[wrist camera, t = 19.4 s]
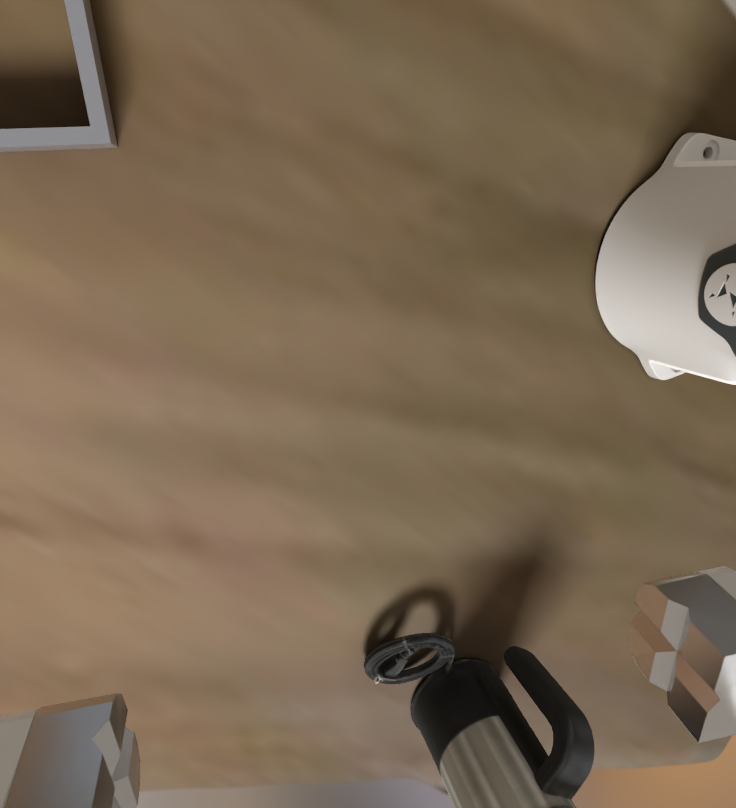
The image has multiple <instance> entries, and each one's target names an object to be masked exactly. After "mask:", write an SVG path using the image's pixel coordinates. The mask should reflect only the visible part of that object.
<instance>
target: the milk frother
mask: <svg viewBox="0 0 736 808" xmlns="http://www.w3.org/2000/svg"><path fill="white" fill-rule="evenodd" d="M418 648H432V649H433V648H434V649H436V650H438V653H437V654H436V655H435V656H434V657H433V658H432V659H431V660H429V661H428V662H426V663H424V664H422V665H419V666H417V667H414V668H411V669H407V670H403V671H401V670H402V669H403V668H404V666H405V664H406V663H407V662H408V658H409V657H410V656H411V655H412V654H414V653H415V651H414V650H415V649H418ZM454 656H455V646H454V643H453V641H452V640H451V639H450V638H448V637H447V636H445V635H441V634H436V633H422V634H413V635H408V636H404V637H400V638H397V639H394V640H391V641H388V642H386V643H384V644H382V645H380V646H378V647H377V648H375V649H374V650H372V651H371V652H370V653H369V654H368V656H367V657H366V659H365V662H364V668H365V672H366V674H367V675H368V676H369V678H371V679H372V680H373V681H374V683H375V684H378V683H385V684H401V683H406V682H409V681H413V680H416V679H418V678H421V677H424V676H426V675H428V674H430V673H432V672H433V673H432V674H431V675H430V676H428V677H427V678H426V680H425V681H424V682H423V683H422V684H421V685H420V687H419V688H418V689H417V691H416V693H415V695H414V697H413V700H412V705H411V716H412V720H413V722H414V723H415V725H416V727H417V728H418V729H419V730H420V731H421V733H422V735H423V737H424V739H425V741H426V744H427V746H428V748H429V750H430V752H431V754H432V757H433V759H434V761H435V763H436V766H437V768H438V770H439V773H440V775H441V777H442V779H443V782H444V784H445V787H446V789H447V792H448V794H449V796H450V799H451V801H452V803H453V805H454V808H576V807H575V805H574V803H573V802H572V800H571V799H572V797H573V796H574V795H575V793H576V792H577V791H578V789H579V788H580V787H581V785H582V784H583V783H584V781H585V780H586V778H587V776H588V775H589V773H590V770H591V768H592V764H593V760H594V740H593V735H592V730H591V728H590V725H589V723H588V721H587V719H586V717H585V715H584V714H583V713H582V711H581V710H580V709H579V708H578V706H577V705H576V704H575V703H574V702H573V700H572V699H571V698H570V697H569V696H568V695H567V693H566V692H565V691H564V690H563V689H562V687H561V686H560V685H559V684H558V683H557V681H556V680H555V679H554V678H553V677H552V676H551V675H550V673H549V672H548V671H547V670H546V669H545V668H544V666H543V665H542V664H541V663H540V662H539V661H538V660H537V658H536V657H535V656H534V655H533V654H532V653H531V652H529V651H527V650H525V649H522V648H520V647H516V646H512V647H509V648H508V649H507V650H506V651H505V654H504V659H505V662H506V664H507V665H508V667H509V668H510V670H511V671H512V672H513V674H514V675H515V676H516V678H517V679H518V681H519V682H520V683H521V685H522V686H523V687H524V689H525V690H526V691H527V693H528V694H529V695H530V697H531V698H532V700H533V701H534V702H535V704H536V705H537V706H538V708H539V709H540V710H541V712H542V713H543V714H544V715H545V717H546V718H547V720H548V721H549V723H550V725H551V726H552V730H553V737H554V738H553V748H552V751H551V753H550V755H549V756H548V755H547V753H546V751H545V750H544V748H543V747H542V745H541V743H540V742H539V740H538V738H537V737H536V735H535V734H534V732H533V730H532V729H531V727H530V726H529V724H528V722H527V720H526V719H525V718H524V716H523V714H522V713H521V711H520V709H519V708H518V706H517V704H516V703H515V701H514V699H513V698H512V696H511V694H510V693H509V691H508V689H507V688H506V686H505V685H504V683H503V682H502V680H501V679H500V677H499V675H498V673H497V671H496V670H495V669H494V668H493V667H492V666H491V665H490V664H488V663H486V662H484V661H482V660H478V659H462V660H458V661H454V662H453V660H454ZM447 662H448V663H447ZM445 663H447V664H446V665H444V664H445ZM443 665H444V666H443ZM440 667H441V668H440Z"/></svg>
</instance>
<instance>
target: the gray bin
mask: <svg viewBox="0 0 736 808" xmlns="http://www.w3.org/2000/svg"><path fill="white" fill-rule="evenodd" d="M64 1H65V6H66V11H67V16H68V21H69V25H70V30H71V35H72V40H73V45H74V50H75V55H76V60H77V64H78V69H79V74H80V79H81V84H82V89H83V94H84V98H85V103H86V108H87V113H88V118H89V123H90V126H84V127H51V128H18V129H0V152H20V151H45V150H71V149H96V148H118V146H117V141H116V135H115V130H114V125H113V120H112V115H111V109H110V104H109V99H108V94H107V89H106V83H105V78H104V73H103V68H102V63H101V57H100V52H99V47H98V42H97V37H96V31H95V26H94V21H93V16H92V11H91V5H90V0H64Z"/></svg>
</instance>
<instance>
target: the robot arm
mask: <svg viewBox="0 0 736 808" xmlns="http://www.w3.org/2000/svg"><path fill="white" fill-rule="evenodd" d="M704 150H705V154H704V157H703V152H704ZM595 281H596V298H597V303H598V308H599V311H600V314H601V317H602V319H603V321H604V323H605V325H606V327H607V329H608V330H609V331H610V333H611V334H612V335H613V336H614V337H615V338H616V339H617V340H618V341H619V342H620V343H621V344H623V345H624V346H626V347H627V348H629V349H630V350H632V351H633V352H634V353H636V354H637V356H638V357H639V359H640V361H641V363H642V365H643V367H644V369H645V371H646V372H647V374H648V375H649V376H650V377H652V378H656V379H660V380H667V379H670V378H673V377H675V376H678V375H680V374H683V373H686V372H688V373H692V374H695V375H699V376H702V377H706V378H710V379H713V380H717V381H721V382H724V383H728V384H734V385H736V141H735V140H731V139H726V138H722V137H718V136H713V135H709V134H705V133H686V134H684V135H683V136H682V137H681V138H680V139H679V140H678V141H677V142H676V144H675V145H674V146H673V148H672V149H671V151H670V153H669V154H668V156H667V158H666V159H665V161H664V163H663V164H662V166H661V168H660V169H659V170H658V171H657V172H656V173H655V174H654V175H653V176H652V177H651V178H650V179H648V180H647V181H646V182H645V183H644V184H642V185H641V186H640V187H639V188H638V189H637V190H636V191H635V192H634V193H633V194H632V195H631V196H630V197H629V198H628V199H627V200H626V201H625V203H624V204H623V205H622V207H621V208H620V209H619V211H618V212H617V214H616V216H615V217H614V219H613V221H612V222H611V224H610V226H609V228H608V230H607V233H606V235H605V237H604V240H603V243H602V246H601V249H600V253H599V257H598V262H597V268H596V280H595ZM635 603H636V605H637V606H638V607H639V609H640V610H641V611H640V612H639V613H638V614H637V615H636V616H635V618H634V619H633V620H632V621H631V622H630V628H629V635H628V640H629V644H630V648H631V653H632V656H633V658H634V660H635V662H636V664H637V665H638V667H639V669H640V670H641V671H642V673H643V674H644V675H645V677H646V678H647V679H648V681H649V682H651V683H653V684H655V685H657V686H659V687H661V688H662V689H664V690H666V691H667V699H668V706H669V707H670V708H671V710H672V711H673V712H674V713H675V715H676V716H677V717H678V718H679V720H680V721H681V722H682V723H683V725H684V726H685V727H686V728H687V730H688V731H689V732H690V733H691V734H692V736H693V737H694V738H695V739H696V741H697V742H698V743H701V742H705V741H709V740H713V739H718V738H722V737H726V736H730V735H735V734H736V571H735V570H733V569H731V568H728V567H726V566H723V567H718V568H713V569H708V570H704V571H699V572H696V573H688V574H684V575H679V576H675V577H670V578H666V579H661V580H657V581H652V582H648V583H643V584H642V585H641V587H640V588H639V589H638V590H637V594H636V598H635ZM127 711H128V710H127V707H126V704H125V701H124V699H123V696H122V694H111V695H106V696H100V697H95V698H89V699H84V700H78V701H73V702H67V703H62V704H56V705H51V706H45V707H41V708H37V709H32V710H26V711H21V712H16V713H10V714H5V715H0V808H136V807H137V804H138V796H139V787H140V758H139V750H138V744H137V740H136V737H135V733H134V732H133V731H132V730H130V729H128V728H126V727H125V723H126V717H127Z"/></svg>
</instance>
